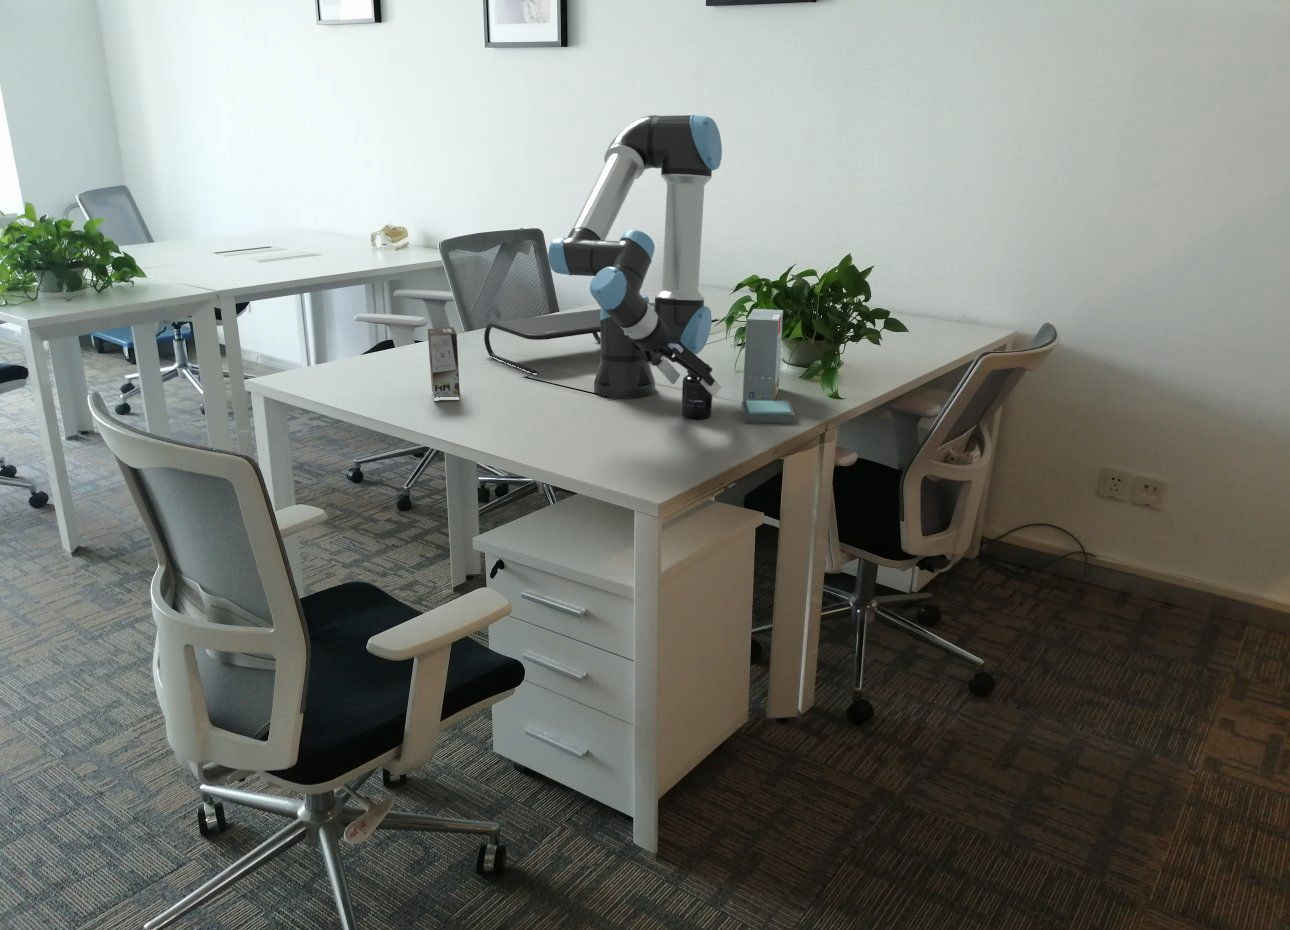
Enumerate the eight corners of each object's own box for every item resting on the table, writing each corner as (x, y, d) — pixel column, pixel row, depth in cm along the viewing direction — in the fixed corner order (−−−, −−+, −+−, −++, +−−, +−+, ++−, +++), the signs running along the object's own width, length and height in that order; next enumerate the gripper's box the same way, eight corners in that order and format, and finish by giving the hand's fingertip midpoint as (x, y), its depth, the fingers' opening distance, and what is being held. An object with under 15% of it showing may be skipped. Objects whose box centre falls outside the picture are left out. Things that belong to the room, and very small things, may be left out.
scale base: (745, 423, 227) (745, 414, 227) (741, 409, 238) (741, 401, 237) (795, 423, 227) (795, 415, 227) (788, 410, 238) (789, 401, 237)
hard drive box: (774, 404, 242) (778, 320, 236) (742, 402, 244) (744, 319, 237) (779, 388, 257) (783, 308, 250) (749, 386, 258) (751, 307, 252)
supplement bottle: (691, 422, 228) (692, 369, 224) (676, 414, 234) (676, 363, 230) (717, 418, 231) (719, 366, 227) (702, 410, 237) (703, 359, 233)
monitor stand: (533, 377, 268) (532, 336, 265) (484, 357, 290) (482, 319, 286) (648, 358, 289) (648, 320, 285) (594, 341, 310) (593, 305, 307)
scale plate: (749, 416, 228) (749, 411, 227) (745, 405, 237) (745, 400, 236) (790, 416, 228) (791, 411, 227) (785, 405, 236) (786, 400, 236)
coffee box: (461, 400, 245) (457, 333, 240) (433, 402, 243) (429, 335, 238) (458, 391, 253) (454, 326, 248) (431, 392, 252) (427, 327, 247)
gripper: (598, 331, 224) (651, 387, 238) (673, 351, 206) (725, 410, 219) (617, 304, 225) (669, 362, 239) (693, 321, 207) (744, 382, 221)
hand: (696, 385), depth 229 cm, fingers open, 13 cm apart
